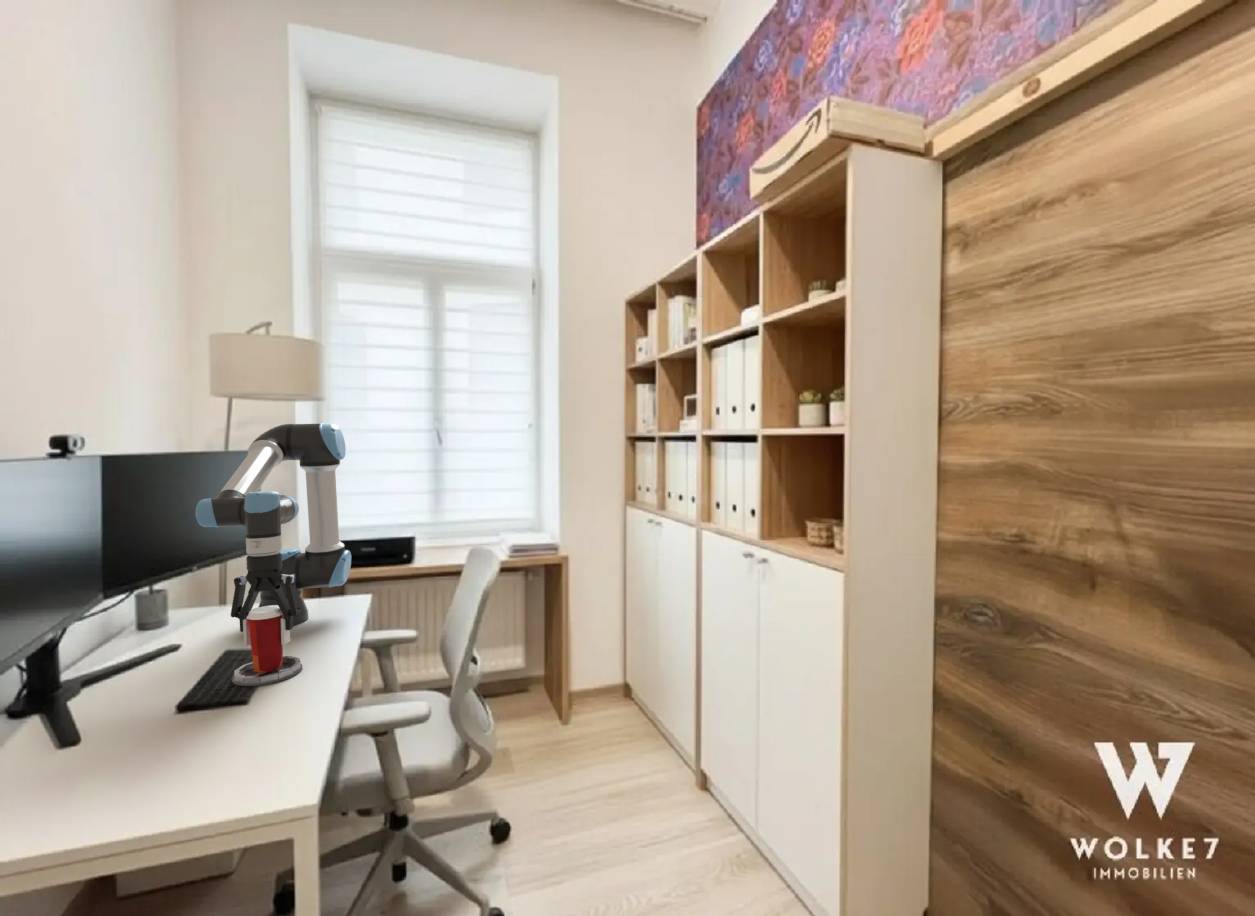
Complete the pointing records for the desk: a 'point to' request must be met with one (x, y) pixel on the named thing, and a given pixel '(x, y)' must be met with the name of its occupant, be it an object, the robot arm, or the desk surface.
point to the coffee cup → (266, 638)
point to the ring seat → (251, 678)
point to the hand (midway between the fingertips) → (267, 643)
